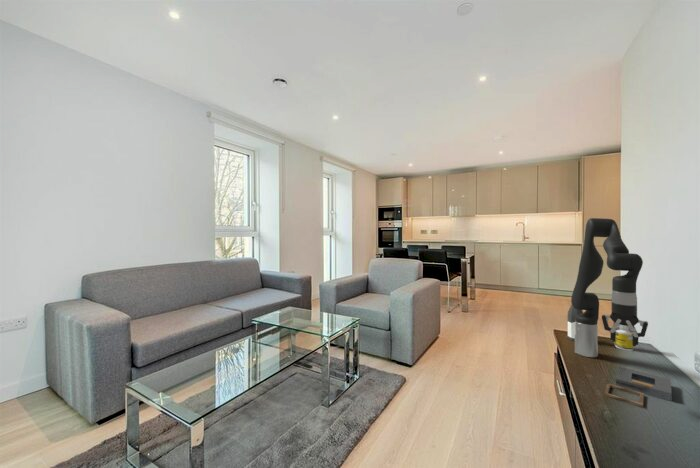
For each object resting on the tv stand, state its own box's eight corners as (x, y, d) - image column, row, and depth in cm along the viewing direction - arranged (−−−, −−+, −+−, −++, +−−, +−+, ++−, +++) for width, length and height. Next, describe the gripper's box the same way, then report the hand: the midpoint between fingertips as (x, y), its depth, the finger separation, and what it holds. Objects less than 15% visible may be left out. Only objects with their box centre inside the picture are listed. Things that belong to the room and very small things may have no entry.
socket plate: (615, 385, 123) (615, 378, 123) (619, 372, 134) (619, 365, 134) (671, 401, 111) (671, 393, 111) (670, 385, 122) (670, 378, 122)
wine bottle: (581, 338, 177) (581, 289, 177) (586, 342, 170) (585, 292, 170) (566, 336, 181) (565, 289, 180) (569, 340, 173) (569, 291, 173)
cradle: (604, 395, 116) (604, 393, 116) (607, 385, 123) (607, 383, 123) (642, 407, 108) (642, 404, 108) (643, 395, 115) (643, 393, 115)
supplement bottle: (611, 345, 119) (611, 322, 119) (623, 345, 119) (623, 322, 119) (624, 351, 113) (624, 327, 113) (637, 350, 114) (637, 326, 114)
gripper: (649, 303, 113) (649, 346, 114) (601, 297, 124) (602, 336, 124) (649, 307, 108) (649, 351, 108) (599, 300, 119) (599, 341, 119)
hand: (624, 343), depth 116 cm, fingers closed on supplement bottle, 5 cm apart
